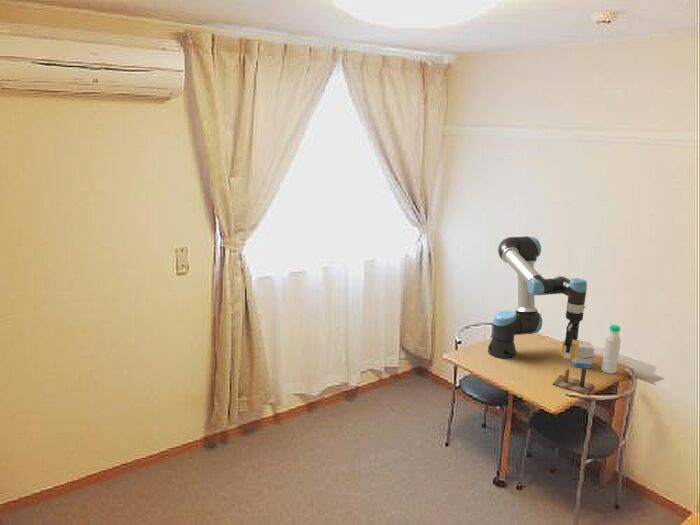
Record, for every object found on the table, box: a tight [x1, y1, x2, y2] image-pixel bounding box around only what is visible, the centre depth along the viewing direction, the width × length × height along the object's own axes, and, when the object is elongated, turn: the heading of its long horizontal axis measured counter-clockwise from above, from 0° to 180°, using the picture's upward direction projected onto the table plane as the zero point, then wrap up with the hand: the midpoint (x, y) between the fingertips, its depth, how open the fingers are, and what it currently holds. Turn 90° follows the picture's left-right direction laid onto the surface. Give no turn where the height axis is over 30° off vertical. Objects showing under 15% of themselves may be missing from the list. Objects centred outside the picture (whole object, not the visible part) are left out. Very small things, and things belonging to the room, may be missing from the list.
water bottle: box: [600, 324, 622, 374], centre depth 267 cm, size 7×7×25 cm
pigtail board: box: [552, 368, 594, 395], centre depth 253 cm, size 16×12×10 cm
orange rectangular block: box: [561, 339, 580, 361], centre depth 251 cm, size 6×6×8 cm
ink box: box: [571, 340, 595, 370], centre depth 275 cm, size 9×8×12 cm
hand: (569, 356), depth 252 cm, fingers closed on orange rectangular block, 6 cm apart
